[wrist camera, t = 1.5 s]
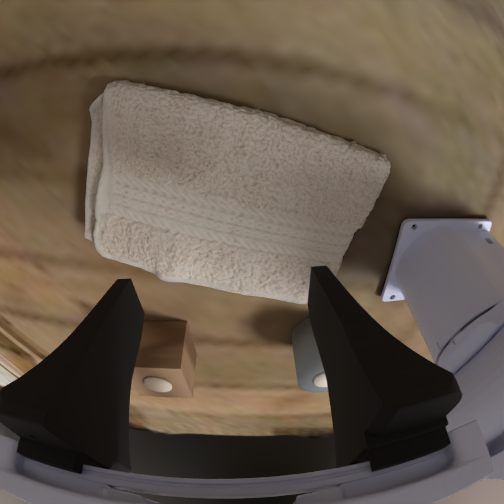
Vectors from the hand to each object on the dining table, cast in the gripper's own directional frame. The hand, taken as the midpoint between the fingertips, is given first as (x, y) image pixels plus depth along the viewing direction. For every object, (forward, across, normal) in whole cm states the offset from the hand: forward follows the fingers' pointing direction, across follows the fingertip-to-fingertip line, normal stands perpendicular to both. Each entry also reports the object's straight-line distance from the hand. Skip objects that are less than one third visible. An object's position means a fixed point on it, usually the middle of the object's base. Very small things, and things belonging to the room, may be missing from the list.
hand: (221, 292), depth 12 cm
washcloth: (+9, 0, 0) cm, 9 cm away
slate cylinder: (+8, -7, +14) cm, 18 cm away
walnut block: (+9, +7, +14) cm, 18 cm away
